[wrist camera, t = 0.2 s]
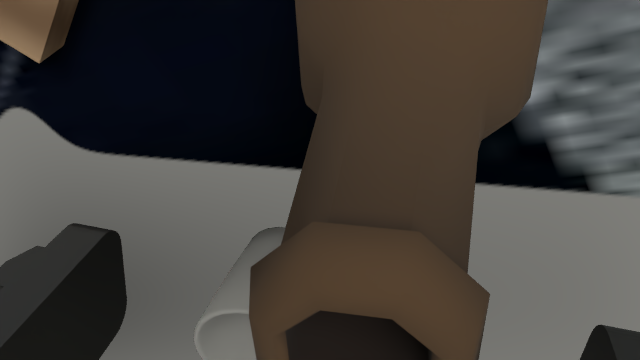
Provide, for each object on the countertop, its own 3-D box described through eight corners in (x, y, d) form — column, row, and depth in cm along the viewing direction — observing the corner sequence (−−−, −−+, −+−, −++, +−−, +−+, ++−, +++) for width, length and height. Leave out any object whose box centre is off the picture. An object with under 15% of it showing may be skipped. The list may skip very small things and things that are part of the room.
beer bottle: (386, 37, 30) (254, 513, 12) (324, -114, 27) (-18, 222, 8) (541, -18, 27) (704, 509, 8) (495, -198, 24) (600, 26, 5)
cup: (362, 254, 40) (340, 357, 33) (288, 322, 46) (257, 420, 39) (269, 195, 38) (227, 290, 32) (205, 273, 44) (158, 366, 38)
